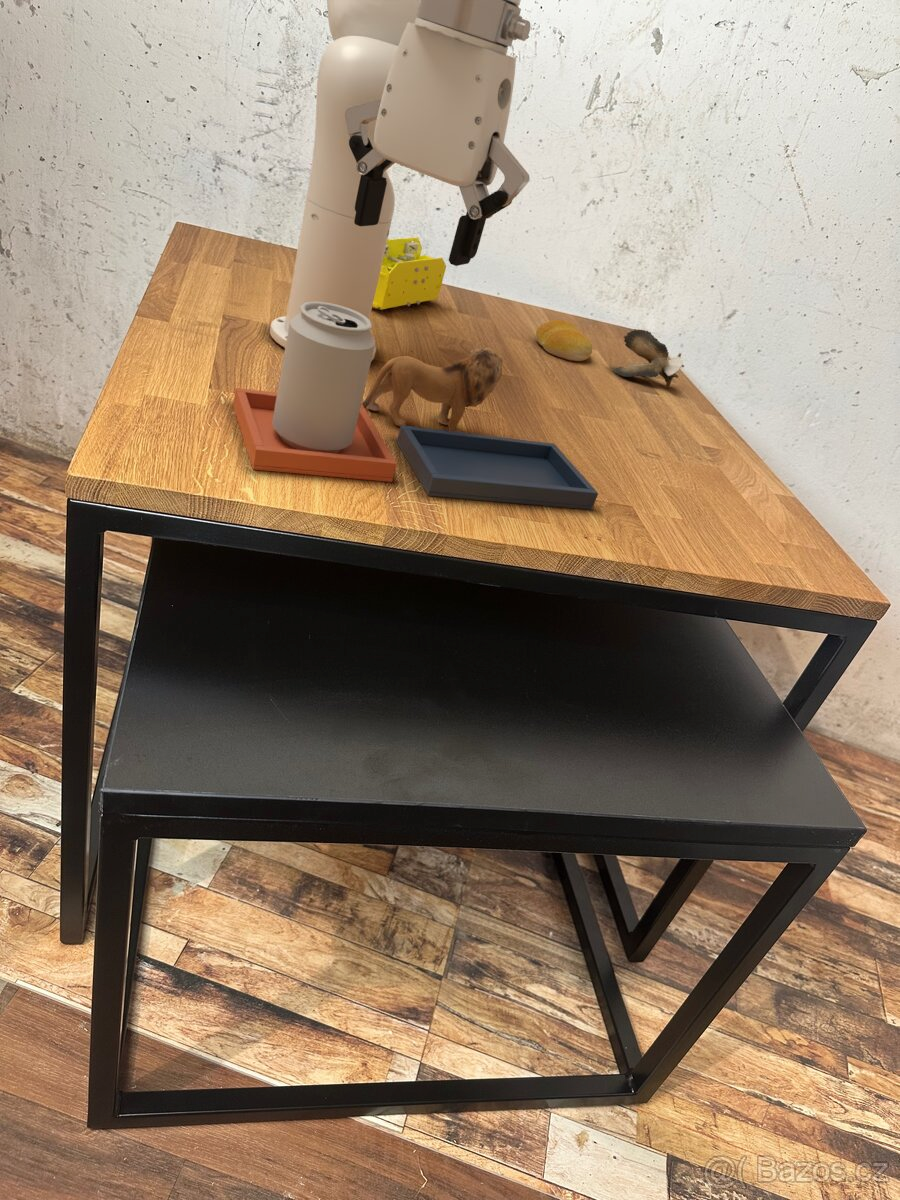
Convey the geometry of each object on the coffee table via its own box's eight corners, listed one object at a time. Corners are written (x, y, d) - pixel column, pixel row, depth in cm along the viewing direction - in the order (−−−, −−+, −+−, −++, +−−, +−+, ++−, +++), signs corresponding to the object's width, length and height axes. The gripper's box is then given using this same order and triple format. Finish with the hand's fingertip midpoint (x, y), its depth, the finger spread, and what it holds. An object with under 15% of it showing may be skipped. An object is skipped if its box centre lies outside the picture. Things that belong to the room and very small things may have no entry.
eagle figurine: (666, 368, 134) (616, 342, 132) (694, 341, 128) (642, 313, 126) (658, 406, 131) (607, 380, 129) (686, 380, 124) (633, 352, 122)
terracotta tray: (232, 405, 83) (235, 387, 82) (358, 421, 88) (362, 403, 87) (252, 469, 73) (256, 449, 72) (392, 482, 79) (397, 463, 78)
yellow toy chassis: (407, 291, 134) (420, 235, 130) (437, 304, 133) (452, 249, 128) (348, 300, 122) (361, 239, 117) (381, 315, 120) (395, 254, 116)
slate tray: (396, 442, 86) (400, 424, 85) (548, 459, 94) (554, 443, 93) (428, 495, 78) (433, 477, 77) (591, 509, 86) (598, 493, 85)
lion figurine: (473, 419, 97) (497, 342, 92) (490, 441, 93) (516, 362, 88) (347, 404, 91) (366, 320, 86) (361, 427, 87) (381, 340, 82)
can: (337, 467, 77) (366, 337, 71) (258, 440, 77) (280, 307, 71) (360, 439, 83) (389, 317, 77) (287, 413, 84) (310, 290, 77)
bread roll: (551, 359, 125) (561, 332, 123) (527, 336, 132) (535, 310, 130) (599, 366, 129) (608, 340, 127) (572, 343, 135) (581, 319, 133)
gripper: (580, 57, 68) (513, 275, 77) (395, -4, 72) (352, 209, 82) (547, 46, 62) (479, 283, 71) (347, -21, 66) (307, 211, 76)
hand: (411, 243), depth 76 cm, fingers open, 9 cm apart
